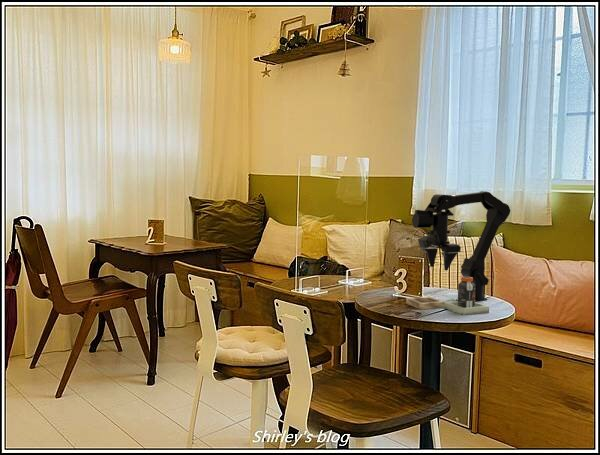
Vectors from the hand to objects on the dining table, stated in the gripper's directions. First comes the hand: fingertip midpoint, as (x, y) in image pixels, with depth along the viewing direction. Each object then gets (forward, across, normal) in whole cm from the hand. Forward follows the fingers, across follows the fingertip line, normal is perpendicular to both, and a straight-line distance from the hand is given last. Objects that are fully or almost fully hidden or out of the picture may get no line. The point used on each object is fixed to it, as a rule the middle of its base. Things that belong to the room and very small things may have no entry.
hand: (438, 268), depth 220 cm
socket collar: (+12, +5, -9) cm, 16 cm away
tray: (+12, +16, 0) cm, 21 cm away
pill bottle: (+12, +16, 0) cm, 20 cm away
